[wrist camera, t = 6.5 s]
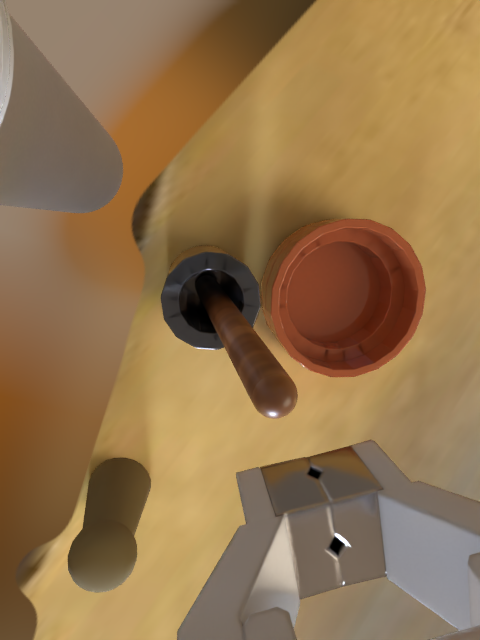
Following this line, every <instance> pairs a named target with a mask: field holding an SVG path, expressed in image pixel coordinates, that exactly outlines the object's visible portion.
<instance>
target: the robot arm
mask: <svg viewBox="0 0 480 640" xmlns="http://www.w3.org/2000/svg"><path fill="white" fill-rule="evenodd" d="M236 478H237V483H238V487H239V492H240V497H241V502H242V507H243V511H244V516H245V521H246V525H242V526H239V527H238V529H237V531H236V533H235V534H234V536H233V538H232V539H231V541H230V543H229V544H228V546H227V548H226V549H225V551H224V553H223V555H222V556H221V558H220V560H219V561H218V563H217V565H216V566H215V568H214V570H213V572H212V573H211V575H210V577H209V578H208V580H207V582H206V583H205V585H204V587H203V589H202V590H201V592H200V594H199V595H198V597H197V599H196V600H195V602H194V604H193V605H192V607H191V609H190V611H189V612H188V614H187V616H186V617H185V619H184V621H183V622H182V624H181V626H180V628H179V629H178V631H177V640H297V639H296V635H295V632H294V626H295V622H296V618H297V614H298V610H299V606H300V599H303V598H307V597H310V596H313V595H317V594H320V593H323V592H326V591H330V590H333V589H336V588H339V587H343V586H347V585H351V584H356V583H360V582H364V581H368V580H372V579H377V578H381V577H385V576H387V579H389V580H390V581H392V582H393V583H394V584H396V585H397V586H398V587H400V588H401V589H403V590H404V591H405V592H407V593H408V594H410V595H411V596H412V597H414V598H415V599H417V600H418V601H419V602H421V603H422V604H424V605H425V606H426V607H428V608H429V609H431V610H432V611H433V612H435V613H436V614H437V615H439V616H440V617H442V618H443V619H444V620H446V621H447V622H449V623H450V624H451V625H453V626H454V627H456V628H457V629H458V630H460V631H457V632H453V633H450V634H446V635H443V636H439V637H436V638H432V639H429V640H480V502H478V501H475V500H472V499H469V498H466V497H463V496H461V495H458V494H455V493H452V492H449V491H446V490H443V489H441V488H438V487H435V486H432V485H429V484H426V483H424V482H421V481H417V482H411V481H410V480H409V479H408V478H407V476H406V475H405V474H404V473H403V472H402V471H401V470H400V469H399V468H398V467H397V465H396V464H395V463H394V462H393V461H392V460H391V459H390V458H389V457H388V455H387V454H386V453H385V452H384V451H383V450H382V449H381V448H380V447H379V446H378V444H377V443H376V442H375V441H373V440H368V441H364V442H361V443H357V444H354V445H350V446H348V447H344V448H340V449H336V450H332V451H329V452H325V453H321V454H317V455H314V456H310V457H303V458H298V459H294V460H289V461H284V462H280V463H275V464H271V465H266V466H261V467H260V468H259V467H256V468H252V469H248V470H244V471H240V472H236Z"/></svg>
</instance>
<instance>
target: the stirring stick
mask: <svg viewBox="0 0 480 640" xmlns="http://www.w3.org/2000/svg"><path fill="white" fill-rule="evenodd" d="M195 288H196V292H197V294H198V296H199V298H200V300H201V302H202V304H203V306H204V308H205V310H206V312H207V314H208V315H209V317H210V319H211V321H212V323H213V325H214V327H215V329H216V331H217V333H218V335H219V337H220V339H221V341H222V343H223V345H224V347H225V349H226V351H227V353H228V355H229V357H230V359H231V361H232V363H233V365H234V367H235V369H236V371H237V373H238V375H239V377H240V379H241V381H242V383H243V385H244V387H245V389H246V391H247V393H248V395H249V397H250V399H251V401H252V403H253V405H254V406H255V408H256V409H257V411H258V412H260V413H261V414H262V415H264V416H266V417H269V418H281V417H284V416H286V415H288V414H289V413H290V412H291V411H292V410H293V409H294V407H295V405H296V402H297V398H298V394H297V388H296V386H295V384H294V382H293V381H292V379H291V378H290V377H289V375H288V374H287V373H286V371H285V370H284V369H283V367H282V366H281V365H280V363H279V362H278V361H277V360H276V358H275V357H274V356H273V354H272V353H271V352H270V350H269V349H268V348H267V346H266V345H265V344H264V342H263V341H262V340H261V339H260V337H259V336H258V335H257V333H256V332H255V331H254V329H253V328H252V327H251V325H250V324H249V323H248V321H247V320H246V319H245V317H244V316H243V315H242V314H241V312H240V311H239V310H238V308H237V307H236V306H235V304H234V303H233V302H232V300H231V299H230V298H229V296H228V295H227V294H226V293H225V291H224V290H223V289H222V287H221V286H220V285H219V283H218V282H217V281H216V279H215V278H213V277H212V276H209V275H205V276H202V277H200V278H199V279H198V280H197V282H196V285H195Z"/></svg>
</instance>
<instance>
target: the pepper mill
mask: <svg viewBox="0 0 480 640" xmlns="http://www.w3.org/2000/svg"><path fill="white" fill-rule="evenodd" d="M150 488H151V479H150V477H149V474H148V472H147V470H146V469H145V468H144V467H143V466H142V465H141V464H139V463H138V462H136V461H134V460H131V459H127V458H114V459H111V460H108V461H105V462H103V463H102V464H100V465H99V466H98V467H97V468H96V469H95V470H94V472H93V473H92V475H91V478H90V481H89V486H88V493H87V500H86V508H85V515H84V522H83V529H82V530H81V532H80V533H79V534H78V535H77V537H76V538H75V539H74V541H73V542H72V545H71V548H70V551H69V554H68V570H69V573H70V575H71V577H72V579H73V581H74V582H75V583H76V584H77V585H78V586H79V587H81V588H83V589H85V590H87V591H91V592H106V591H109V590H112V589H115V588H116V587H118V586H119V585H121V584H122V583H123V582H124V581H125V580H126V579H127V578H128V577H129V575H130V574H131V572H132V570H133V568H134V565H135V562H136V558H137V544H136V540H135V538H134V535H135V532H136V529H137V526H138V523H139V520H140V517H141V514H142V512H143V509H144V506H145V503H146V500H147V497H148V494H149V491H150Z"/></svg>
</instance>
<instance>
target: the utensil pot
mask: <svg viewBox="0 0 480 640" xmlns="http://www.w3.org/2000/svg"><path fill="white" fill-rule="evenodd" d="M205 275H209V276H212V277H213V278H215V279H216V281H217V282H218V283H219V285H220V286H221V287H222V289H223V290H224V291H225V293H226V294H227V295H228V296H229V298H230V299H231V300H232V302H233V303H234V304H235V306H236V307H237V308H238V310H239V311H240V312H241V314H242V315H243V316H244V317H245V319H246V320H247V321H248V323H249V324H250V325H251V327H252V328H253V326H254V324H255V321H256V318H257V316H258V313H259V310H260V306H261V303H260V292H259V285H258V283H257V281H256V279H255V278H254V276H253V274H252V273H251V271H250V270H249V268H248V267H247V266H246V265H245V264H244V263H242V262H240V261H239V260H237V259H236V258H234V257H233V256H231V255H230V254H228V253H226V252H225V251H223V250H222V249H220V248H218V247H213V246H208V245H199V246H195V247H192V248H189V249H187V250H185V251H183V252H182V253H181V254H180V255H179V256H178V257H177V258H176V259H175V260H174V261H173V262H172V264H171V266H170V269H169V272H168V275H167V278H166V282H165V285H164V288H163V291H162V294H161V303H162V310H163V316H164V320H165V321H166V323H167V324H168V326H169V327H170V329H171V330H172V332H173V333H174V334H175V336H176V337H177V338H179V339H181V340H182V341H184V342H186V343H188V344H190V345H191V346H193V347H196V348H201V349H214V350H217V349H221V348H224V345H223V343H222V341H221V339H220V337H219V335H218V333H217V331H216V329H215V327H214V325H213V323H212V321H211V319H210V317H209V315H208V314H207V312H206V310H205V308H204V306H203V304H202V302H201V300H200V298H199V296H198V294H197V292H196V288H195V285H196V282H197V280H198V279H199V278H200V277H202V276H205Z"/></svg>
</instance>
